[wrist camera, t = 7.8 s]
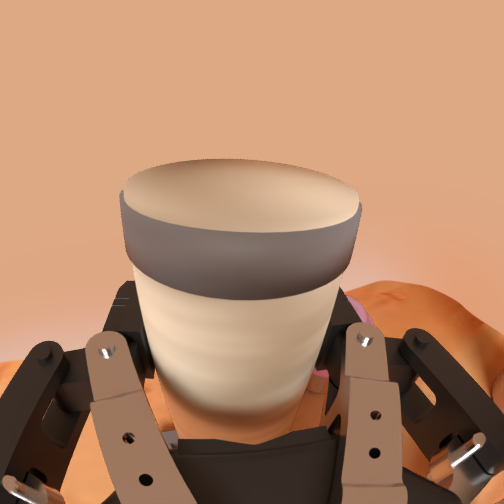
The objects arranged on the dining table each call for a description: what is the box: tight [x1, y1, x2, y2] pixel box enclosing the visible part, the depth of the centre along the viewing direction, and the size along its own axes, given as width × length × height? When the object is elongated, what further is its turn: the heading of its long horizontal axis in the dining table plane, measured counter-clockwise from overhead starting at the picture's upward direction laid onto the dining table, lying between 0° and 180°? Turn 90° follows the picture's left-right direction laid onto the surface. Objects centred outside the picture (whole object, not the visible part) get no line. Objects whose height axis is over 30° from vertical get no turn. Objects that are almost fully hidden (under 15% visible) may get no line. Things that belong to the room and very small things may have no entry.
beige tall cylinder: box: [120, 159, 362, 445], centre depth 9 cm, size 6×6×12 cm
